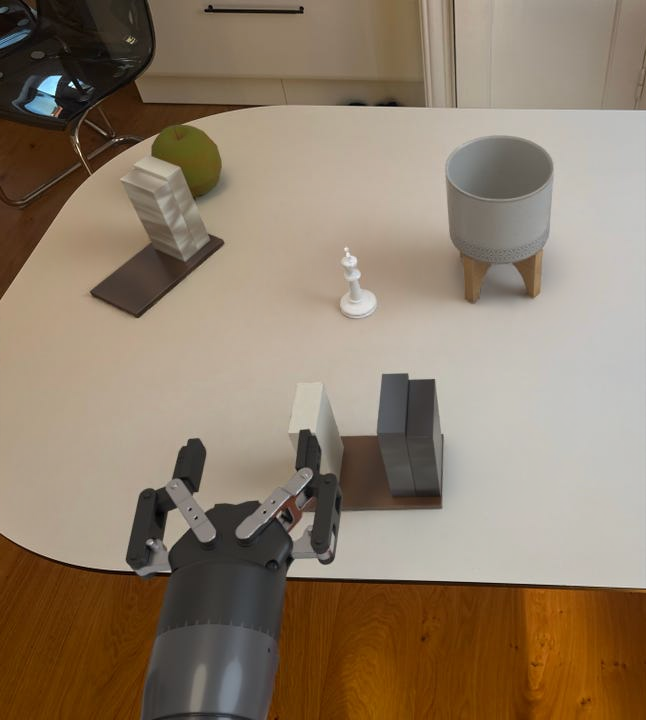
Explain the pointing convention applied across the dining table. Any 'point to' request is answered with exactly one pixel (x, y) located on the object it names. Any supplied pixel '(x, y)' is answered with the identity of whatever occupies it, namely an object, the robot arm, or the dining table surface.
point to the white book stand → (158, 238)
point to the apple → (190, 156)
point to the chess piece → (355, 291)
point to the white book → (317, 425)
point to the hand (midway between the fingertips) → (252, 439)
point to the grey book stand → (396, 452)
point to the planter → (499, 207)
